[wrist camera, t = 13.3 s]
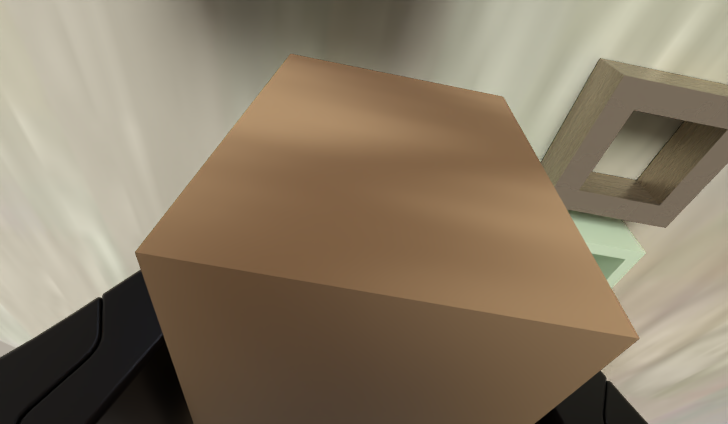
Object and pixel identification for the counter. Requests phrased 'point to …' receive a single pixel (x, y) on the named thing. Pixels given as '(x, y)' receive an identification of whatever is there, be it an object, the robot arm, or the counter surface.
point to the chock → (376, 262)
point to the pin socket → (668, 169)
